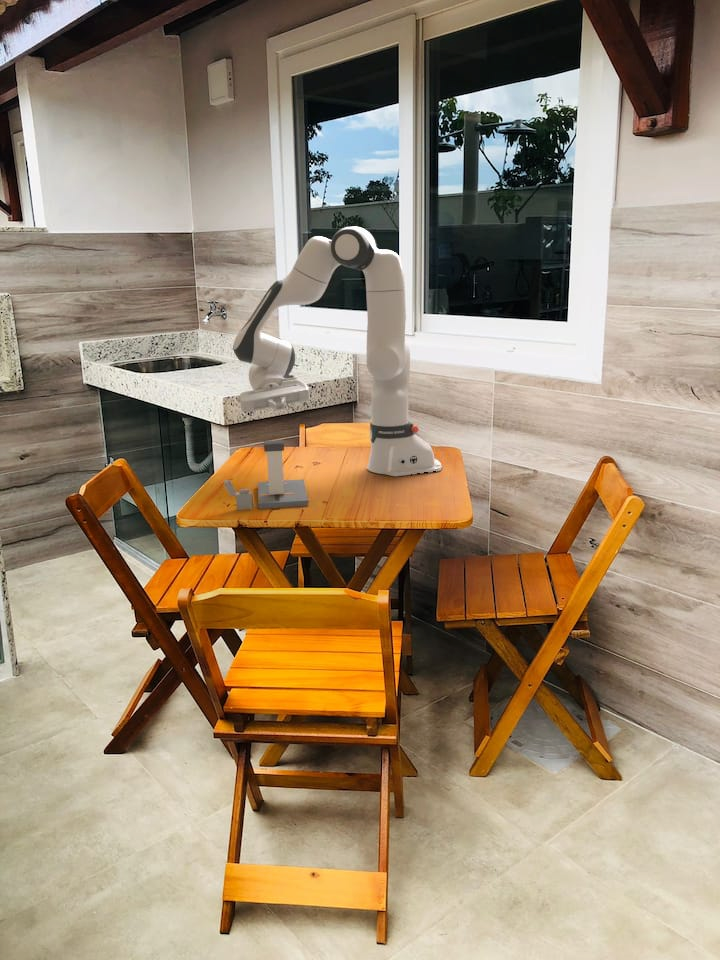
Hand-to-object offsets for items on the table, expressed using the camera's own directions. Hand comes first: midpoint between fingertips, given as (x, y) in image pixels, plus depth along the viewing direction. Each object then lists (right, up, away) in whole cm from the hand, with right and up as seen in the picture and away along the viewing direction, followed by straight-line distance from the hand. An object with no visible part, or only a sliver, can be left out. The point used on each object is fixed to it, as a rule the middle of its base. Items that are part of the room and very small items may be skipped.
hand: (280, 407), depth 221 cm
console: (+1, -25, -5) cm, 25 cm away
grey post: (0, -24, -8) cm, 25 cm away
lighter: (-9, -28, -14) cm, 33 cm away
